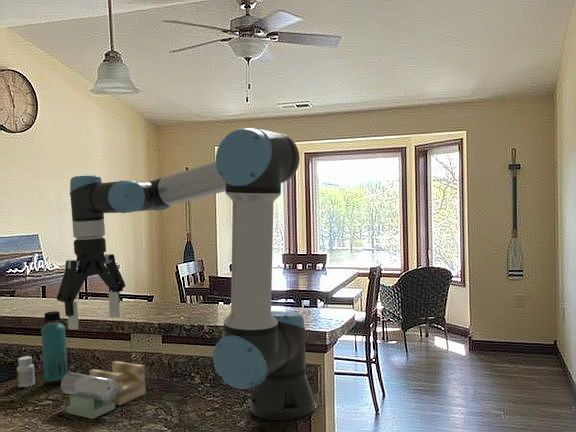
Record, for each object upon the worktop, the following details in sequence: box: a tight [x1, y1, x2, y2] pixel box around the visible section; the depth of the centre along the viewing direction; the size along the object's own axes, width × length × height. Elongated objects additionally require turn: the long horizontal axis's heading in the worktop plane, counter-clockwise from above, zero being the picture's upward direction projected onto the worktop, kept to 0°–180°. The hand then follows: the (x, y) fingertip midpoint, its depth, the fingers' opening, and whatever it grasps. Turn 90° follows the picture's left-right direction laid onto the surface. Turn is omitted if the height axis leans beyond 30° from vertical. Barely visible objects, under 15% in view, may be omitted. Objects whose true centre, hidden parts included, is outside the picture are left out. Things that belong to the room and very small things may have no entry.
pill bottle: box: [16, 355, 36, 388], centre depth 162 cm, size 4×4×8 cm
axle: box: [60, 372, 118, 401], centre depth 141 cm, size 14×5×5 cm, turn 61°
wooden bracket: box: [89, 360, 147, 406], centre depth 150 cm, size 10×9×8 cm
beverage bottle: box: [40, 310, 69, 382], centre depth 163 cm, size 6×7×20 cm
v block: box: [65, 395, 116, 420], centre depth 141 cm, size 9×7×4 cm
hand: (95, 322), depth 146 cm, fingers open, 13 cm apart
